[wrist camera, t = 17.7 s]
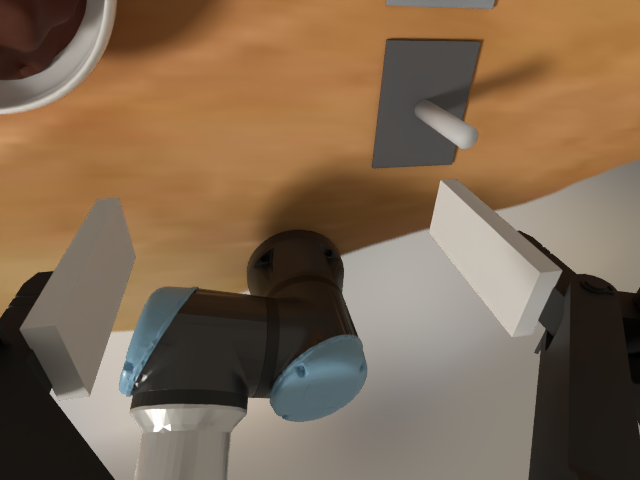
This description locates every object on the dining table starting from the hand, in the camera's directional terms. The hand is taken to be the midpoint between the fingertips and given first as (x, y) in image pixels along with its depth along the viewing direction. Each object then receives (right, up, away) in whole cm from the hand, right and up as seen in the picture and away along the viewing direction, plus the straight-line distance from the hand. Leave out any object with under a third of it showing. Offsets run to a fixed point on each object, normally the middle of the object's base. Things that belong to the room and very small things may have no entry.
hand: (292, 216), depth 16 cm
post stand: (+15, +17, +35) cm, 41 cm away
